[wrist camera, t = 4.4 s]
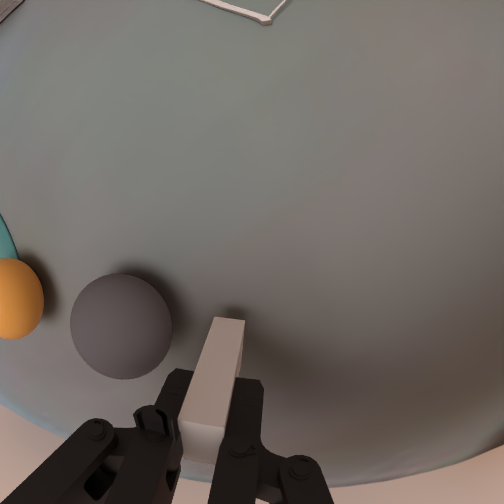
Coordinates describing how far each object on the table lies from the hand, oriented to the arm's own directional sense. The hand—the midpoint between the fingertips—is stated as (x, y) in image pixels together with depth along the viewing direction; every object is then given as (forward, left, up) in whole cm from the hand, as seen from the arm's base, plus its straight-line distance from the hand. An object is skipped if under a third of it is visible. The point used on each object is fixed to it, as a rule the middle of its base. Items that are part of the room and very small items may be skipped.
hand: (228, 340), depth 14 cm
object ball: (+11, +11, +1) cm, 15 cm away
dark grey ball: (+4, +4, +1) cm, 6 cm away
